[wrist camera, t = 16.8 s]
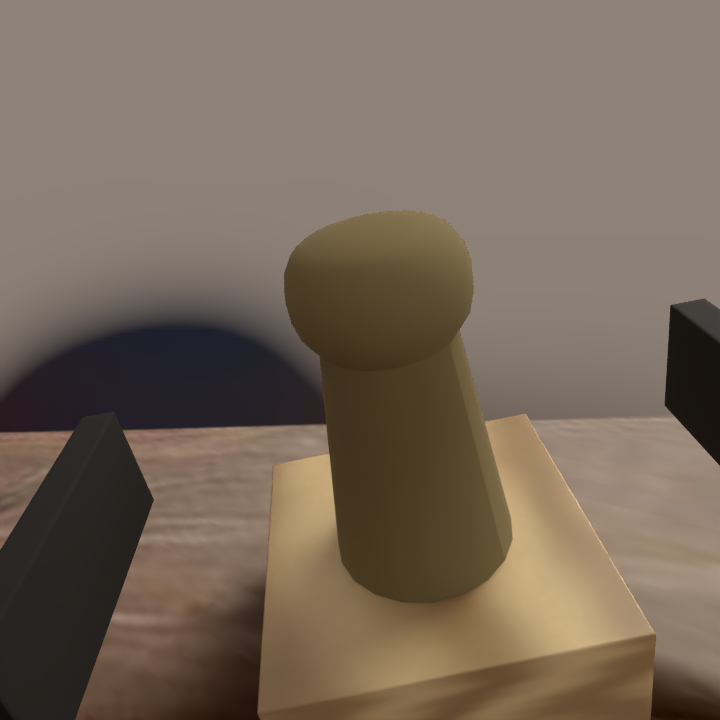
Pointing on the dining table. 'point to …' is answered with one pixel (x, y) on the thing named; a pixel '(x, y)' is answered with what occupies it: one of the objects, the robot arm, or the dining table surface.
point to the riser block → (453, 615)
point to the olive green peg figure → (401, 404)
